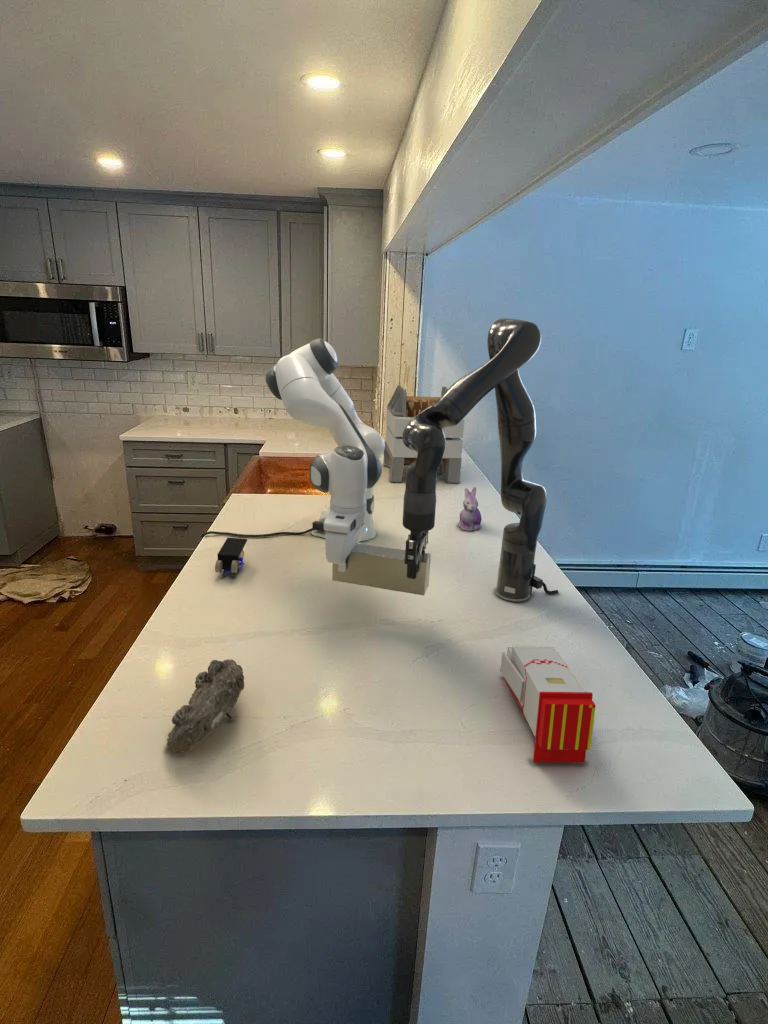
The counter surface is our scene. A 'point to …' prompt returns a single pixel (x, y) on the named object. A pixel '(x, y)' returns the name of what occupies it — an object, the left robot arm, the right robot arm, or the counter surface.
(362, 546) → the bar
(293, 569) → the counter surface
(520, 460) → the right robot arm
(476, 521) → the figurine
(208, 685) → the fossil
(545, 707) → the toy
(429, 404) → the grey storage crate
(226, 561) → the toy car
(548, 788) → the counter surface
